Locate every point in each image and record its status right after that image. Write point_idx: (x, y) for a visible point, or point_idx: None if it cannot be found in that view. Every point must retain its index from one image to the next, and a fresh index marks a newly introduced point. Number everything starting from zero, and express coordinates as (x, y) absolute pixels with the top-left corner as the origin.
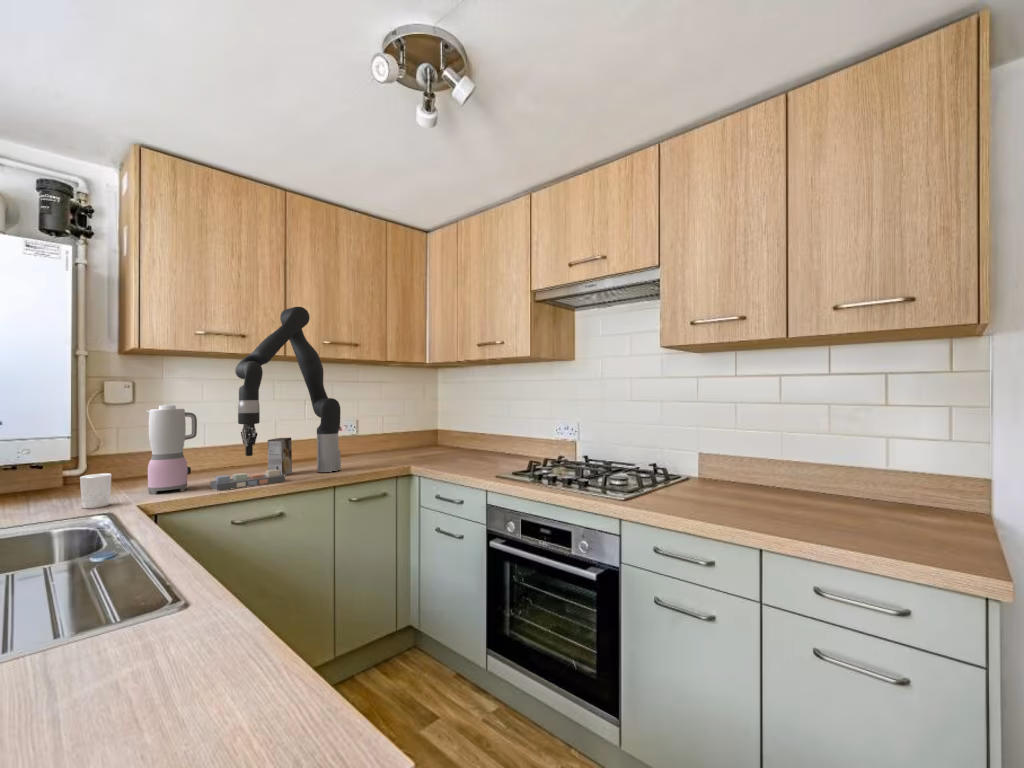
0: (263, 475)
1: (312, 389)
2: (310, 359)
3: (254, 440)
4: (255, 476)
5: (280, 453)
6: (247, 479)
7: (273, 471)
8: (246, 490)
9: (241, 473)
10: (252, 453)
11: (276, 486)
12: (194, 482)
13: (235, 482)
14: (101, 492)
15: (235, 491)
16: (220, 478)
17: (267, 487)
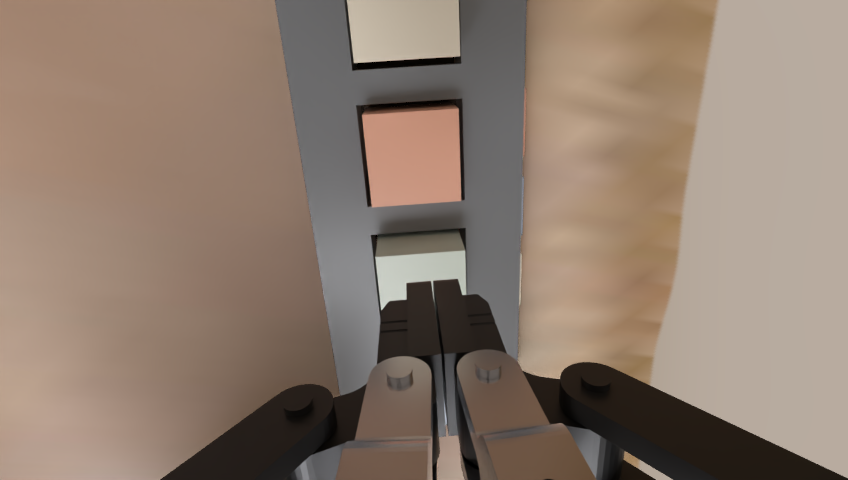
0: (456, 108)
1: None
2: None
3: (724, 447)
4: (459, 177)
5: None
6: (474, 234)
7: (458, 5)
8: (634, 256)
9: (386, 276)
10: (460, 288)
11: (671, 60)
12: (47, 432)
13: (518, 313)
14: None
15: (607, 308)
16: None
17: (650, 125)
